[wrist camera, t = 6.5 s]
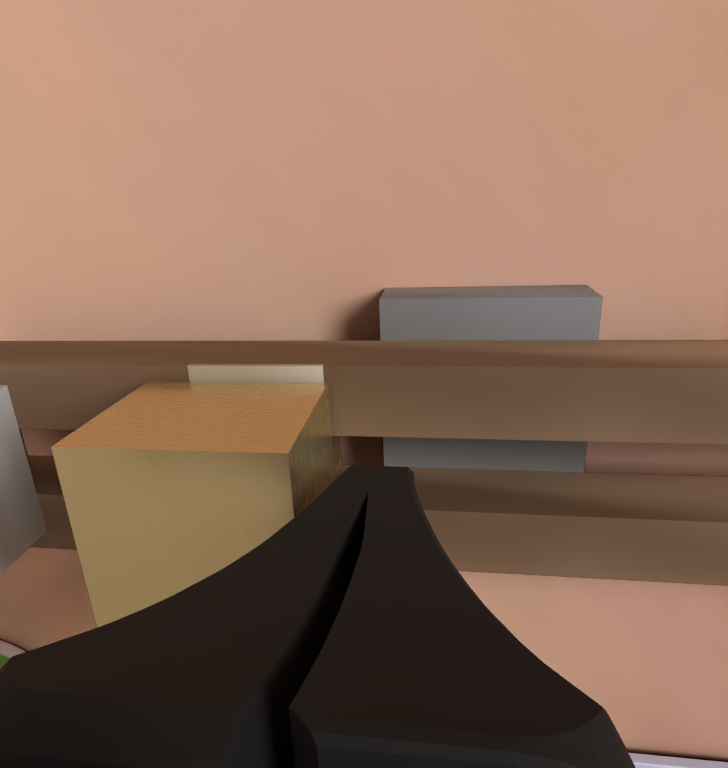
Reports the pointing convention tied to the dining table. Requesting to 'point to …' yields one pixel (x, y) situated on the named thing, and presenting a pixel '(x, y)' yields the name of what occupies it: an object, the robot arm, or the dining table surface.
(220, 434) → the block
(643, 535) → the beam
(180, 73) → the dining table surface
